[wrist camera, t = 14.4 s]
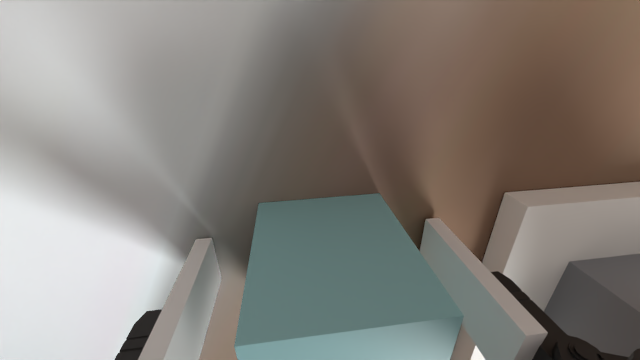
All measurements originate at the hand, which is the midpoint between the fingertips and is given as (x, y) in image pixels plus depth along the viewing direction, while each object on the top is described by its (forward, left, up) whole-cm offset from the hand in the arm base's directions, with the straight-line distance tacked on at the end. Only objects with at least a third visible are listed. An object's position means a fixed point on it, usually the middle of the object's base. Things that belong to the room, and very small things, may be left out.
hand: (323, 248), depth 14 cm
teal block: (0, 0, 0) cm, 0 cm away
